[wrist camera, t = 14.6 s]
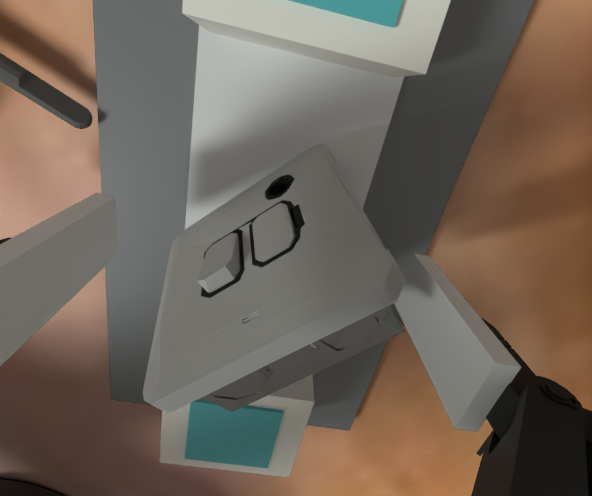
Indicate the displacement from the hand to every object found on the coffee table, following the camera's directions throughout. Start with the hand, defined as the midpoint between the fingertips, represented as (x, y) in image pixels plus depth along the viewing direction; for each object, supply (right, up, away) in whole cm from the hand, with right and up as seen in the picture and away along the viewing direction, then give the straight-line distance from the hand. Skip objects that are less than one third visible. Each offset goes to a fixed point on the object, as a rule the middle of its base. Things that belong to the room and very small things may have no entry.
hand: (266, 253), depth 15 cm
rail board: (0, +2, +4) cm, 5 cm away
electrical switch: (0, +1, +3) cm, 4 cm away
